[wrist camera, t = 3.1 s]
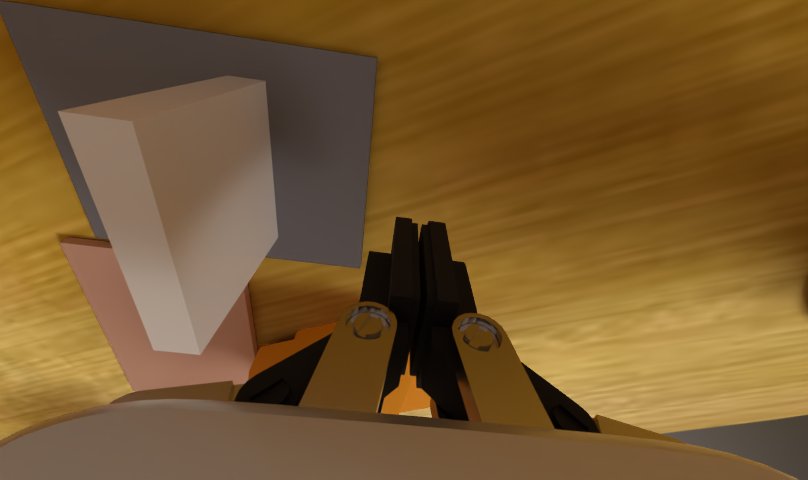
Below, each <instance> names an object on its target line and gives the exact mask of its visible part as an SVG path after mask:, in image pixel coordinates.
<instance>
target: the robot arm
mask: <svg viewBox="0 0 808 480" xmlns="http://www.w3.org/2000/svg"><path fill="white" fill-rule="evenodd" d="M409 352H410V376H416V388H422V389H423V390H424V391H425V392H426V393H427V394H428V395H429V396H430V397H431V399H430V409H431V414H432V418H429V417H418V416H406V415H395V414H384V413H382V409H383V404H384V399H385V397H386V396H387V395H389V394H390V393H391V392H392V391H394V390H395V389H396V388H397V387H399V383H400V378H401V375H405V371H406V366H407V362H408V357H409ZM0 480H798V479H797V478H794V477H792V476H789V475H787V474H785V473H782V472H780V471H778V470H776V469H773V468H771V467H769V466H766V465H764V464H760V463H757V462H754V461H751V460H748V459H745V458H742V457H739V456H736V455H733V454H730V453H726V452H721V451H717V450H713V449H708V448H704V447H700V446H694V445H688V444H686V443H684V442H682V441H679V440H677V439H674V438H671V437H668V436H665V435H662V434H658V433H655V432H652V431H649V430H645V429H642V428H639V427H636V426H632V425H629V424H626V423H623V422H620V421H616V420H613V419H610V418H607V417H603V416H600V415H596V416H595V417H594V418H591V417H590V415H589V414H588V413H587V412H586V411H585V410H584V409H583V408H582V407H580V406H579V405H578V404H577V403H575V402H574V401H573V400H571V399H570V398H569V397H567V396H566V395H565V394H563V393H562V392H561V391H559V390H558V389H557V388H555V387H554V386H553V385H551V384H550V383H549V382H547V381H546V380H545V379H543V378H542V377H541V376H539V375H538V374H537V373H535V372H534V371H533V370H531V369H530V368H528V367H527V366H526V365H524V364H523V363H522V362H521V361H520V359H519V357H518V355H517V353H516V351H515V349H514V347H513V345H512V343H511V341H510V339H509V337H508V336H507V334H506V332H505V331H504V329H503V328H502V326H501V325H499V324H498V323H497V322H496V321H495V320H493V319H491V318H489V317H488V316H485V315H482V314H477V309H476V305H475V301H474V297H473V293H472V289H471V285H470V281H469V277H468V273H467V269H466V265H465V263H464V262H457V261H452V257H451V251H450V246H449V241H448V236H447V230H446V225H445V223H441V222H434V221H429V222H428V225H424V224H422V227H421V232H420V237H419V242H418V224H416V223H412V219H410V218H402V217H396V220H395V228H394V235H393V242H392V250H391V254H390V253H381V252H373V251H369V255H368V260H367V265H366V271H365V276H364V281H363V286H362V292H361V297H360V302H358V303H356V304H353V305H351V306H349V307H348V308H346V309H345V310H344V311H343V313H342V314H341V316H340V318H339V320H338V322H337V324H336V326H335V329H334V331H333V333H331V334H329V335H327V336H325V337H324V338H322V339H320V340H318V341H316V342H315V343H313V344H311V345H309V346H307V347H306V348H304V349H302V350H300V351H298V352H296V353H295V354H293V355H291V356H289V357H287V358H286V359H284V360H282V361H280V362H278V363H276V364H275V365H273V366H271V367H269V368H267V369H266V370H264V371H262V372H260V373H258V374H256V375H255V376H254V377H252V378H251V379H249V380H248V381H247V382H246V383H245V384H238V385H234V384H233V380H232V381H223V382H214V383H205V384H195V385H186V386H177V387H168V388H159V389H150V390H141V391H137V392H133V393H129V394H126V395H124V396H122V397H120V398H118V399H116V400H114V401H112V402H111V403H110V404H109V405H103V406H99V407H95V408H90V409H86V410H82V411H78V412H73V413H69V414H65V415H62V416H59V417H56V418H52V419H49V420H46V421H43V422H41V423H38V424H35V425H33V426H30V427H27V428H25V429H22V430H20V431H18V432H16V433H14V434H12V435H10V436H8V437H6V438H4V439H2V440H0Z"/></svg>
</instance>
